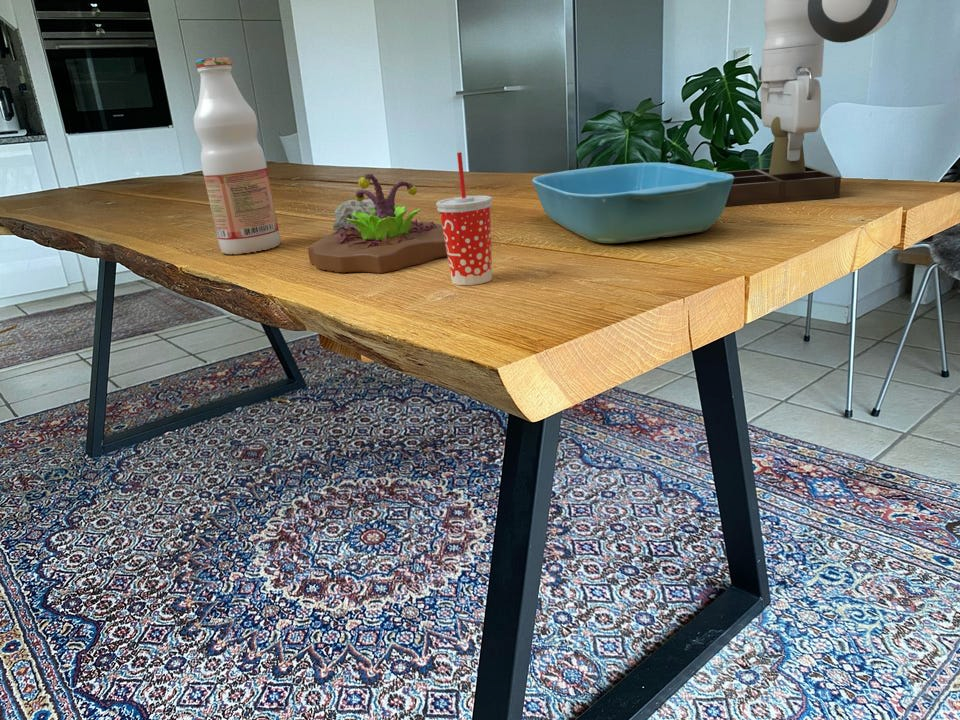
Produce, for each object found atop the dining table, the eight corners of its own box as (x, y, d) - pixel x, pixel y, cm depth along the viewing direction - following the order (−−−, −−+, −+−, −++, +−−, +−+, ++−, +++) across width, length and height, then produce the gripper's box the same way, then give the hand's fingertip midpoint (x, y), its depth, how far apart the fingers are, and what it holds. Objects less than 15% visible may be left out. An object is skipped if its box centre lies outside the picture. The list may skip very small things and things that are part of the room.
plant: (283, 267, 100) (267, 183, 96) (383, 238, 114) (373, 164, 110) (388, 278, 88) (375, 183, 84) (486, 243, 102) (479, 161, 98)
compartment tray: (806, 183, 125) (807, 165, 124) (839, 197, 110) (841, 176, 109) (706, 191, 127) (706, 173, 126) (725, 206, 112) (725, 185, 111)
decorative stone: (321, 229, 129) (317, 200, 127) (379, 219, 133) (376, 191, 131) (342, 237, 118) (337, 206, 117) (404, 226, 123) (400, 196, 121)
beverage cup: (444, 276, 86) (430, 153, 81) (496, 270, 86) (485, 147, 82) (445, 289, 80) (430, 157, 76) (501, 283, 81) (490, 151, 76)
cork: (762, 183, 124) (763, 115, 121) (798, 179, 124) (800, 111, 120) (774, 188, 119) (775, 117, 115) (812, 184, 118) (815, 112, 114)
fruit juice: (208, 256, 114) (164, 62, 104) (241, 243, 122) (203, 62, 112) (262, 254, 111) (222, 54, 101) (292, 241, 119) (258, 56, 110)
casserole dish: (522, 215, 122) (519, 171, 119) (651, 200, 124) (650, 156, 122) (586, 259, 87) (584, 198, 85) (763, 236, 90) (765, 177, 88)
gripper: (835, 64, 105) (828, 163, 110) (794, 67, 124) (789, 151, 129) (789, 68, 106) (784, 167, 111) (755, 70, 125) (752, 154, 130)
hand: (787, 158), depth 120 cm, fingers closed on cork, 5 cm apart
